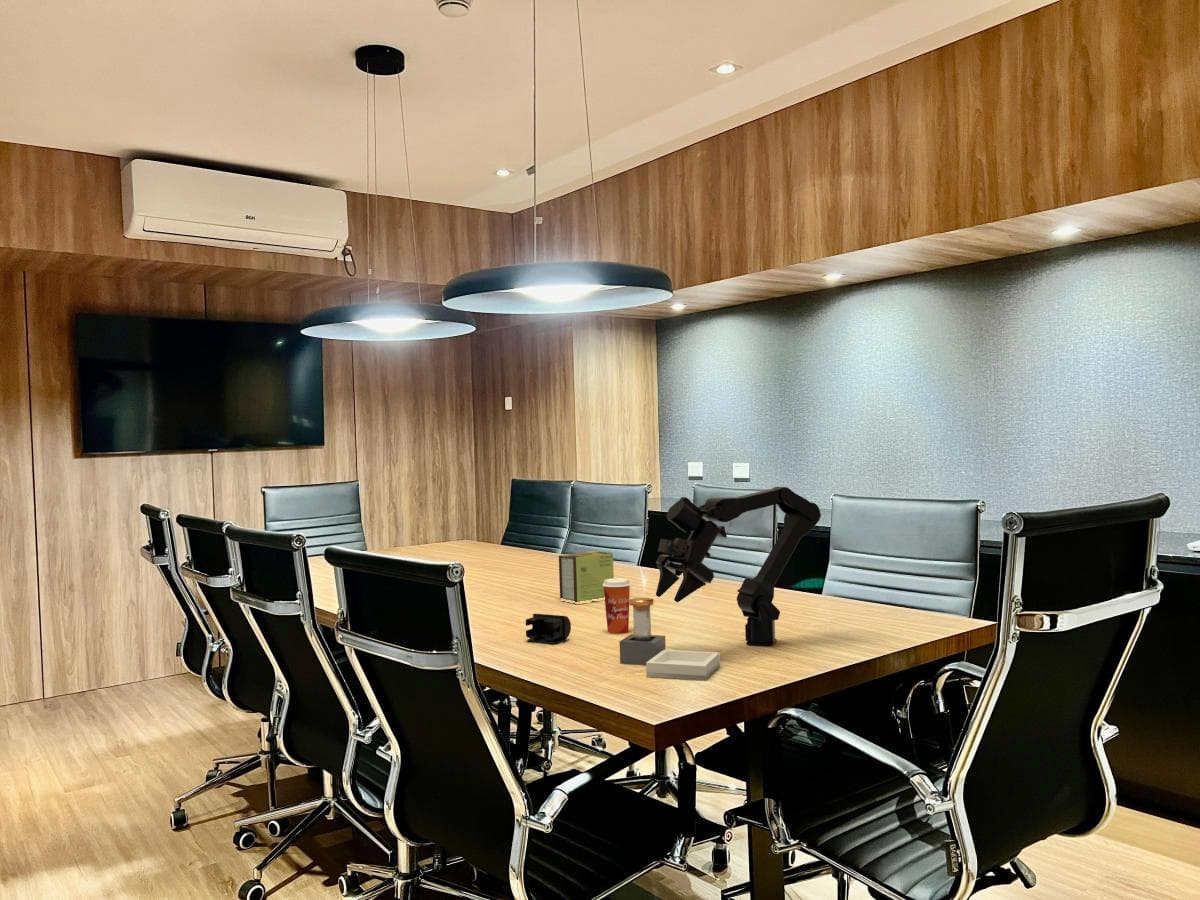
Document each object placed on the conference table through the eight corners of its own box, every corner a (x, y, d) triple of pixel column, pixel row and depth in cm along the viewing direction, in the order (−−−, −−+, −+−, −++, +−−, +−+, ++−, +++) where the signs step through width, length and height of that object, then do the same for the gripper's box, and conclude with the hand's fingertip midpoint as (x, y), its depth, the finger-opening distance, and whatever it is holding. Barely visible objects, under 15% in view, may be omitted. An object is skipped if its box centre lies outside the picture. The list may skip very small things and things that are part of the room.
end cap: (571, 640, 231) (571, 614, 231) (556, 645, 225) (555, 618, 225) (540, 637, 236) (539, 611, 236) (524, 642, 230) (523, 616, 230)
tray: (719, 666, 197) (719, 652, 197) (705, 680, 185) (705, 666, 185) (664, 662, 202) (663, 649, 202) (646, 676, 190) (646, 662, 190)
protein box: (615, 599, 294) (613, 552, 294) (577, 605, 285) (575, 557, 285) (596, 596, 302) (595, 550, 302) (559, 601, 293) (557, 554, 293)
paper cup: (608, 635, 235) (607, 582, 235) (600, 630, 242) (598, 579, 242) (636, 633, 237) (634, 580, 237) (627, 627, 244) (626, 577, 244)
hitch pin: (658, 658, 207) (656, 598, 207) (651, 663, 202) (649, 602, 202) (635, 656, 209) (633, 597, 209) (627, 662, 204) (626, 601, 204)
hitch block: (665, 657, 208) (665, 635, 208) (655, 665, 200) (654, 643, 200) (632, 655, 211) (631, 634, 211) (620, 663, 203) (619, 641, 203)
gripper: (656, 522, 219) (624, 576, 215) (694, 527, 202) (659, 585, 198) (689, 547, 222) (657, 600, 218) (729, 553, 205) (695, 611, 201)
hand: (666, 598), depth 209 cm, fingers open, 9 cm apart
